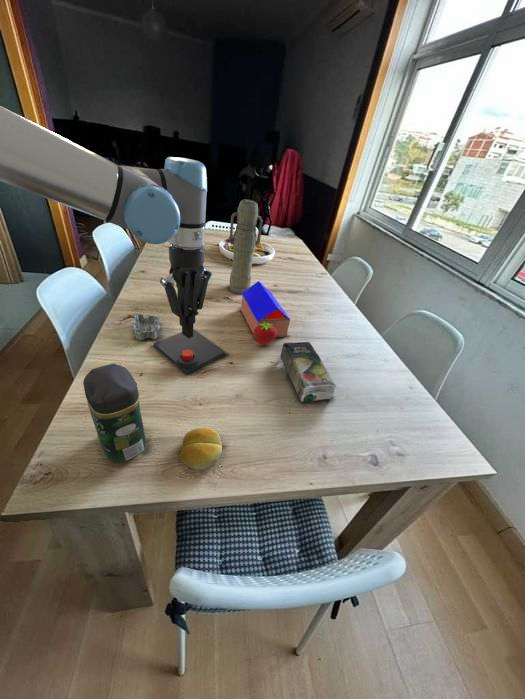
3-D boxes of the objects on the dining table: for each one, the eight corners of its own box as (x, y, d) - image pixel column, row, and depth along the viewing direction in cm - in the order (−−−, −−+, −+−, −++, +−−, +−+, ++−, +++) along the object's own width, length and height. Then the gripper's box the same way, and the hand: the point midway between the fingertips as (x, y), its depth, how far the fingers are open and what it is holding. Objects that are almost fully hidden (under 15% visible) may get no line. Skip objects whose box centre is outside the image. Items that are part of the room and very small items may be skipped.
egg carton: (135, 322, 95) (134, 311, 93) (160, 321, 98) (159, 311, 95) (133, 341, 87) (132, 329, 85) (160, 340, 90) (159, 328, 87)
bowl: (284, 261, 164) (286, 247, 159) (245, 270, 144) (247, 254, 140) (247, 244, 178) (248, 230, 174) (207, 250, 159) (208, 235, 154)
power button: (179, 357, 81) (179, 352, 80) (188, 353, 83) (188, 348, 82) (186, 362, 79) (186, 357, 78) (195, 358, 81) (195, 353, 80)
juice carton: (334, 401, 79) (341, 385, 76) (301, 405, 76) (306, 388, 73) (307, 356, 94) (311, 340, 91) (278, 358, 92) (281, 342, 88)
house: (254, 338, 98) (259, 308, 91) (239, 309, 113) (243, 280, 106) (287, 336, 102) (294, 307, 95) (268, 308, 117) (273, 280, 110)
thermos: (255, 294, 125) (268, 205, 104) (227, 293, 121) (235, 201, 101) (250, 285, 131) (261, 200, 111) (224, 284, 128) (231, 196, 107)
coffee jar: (95, 435, 61) (75, 368, 50) (134, 419, 65) (123, 354, 54) (110, 471, 55) (90, 404, 44) (151, 452, 60) (143, 386, 49)
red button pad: (152, 346, 87) (151, 338, 85) (192, 331, 96) (192, 323, 94) (185, 375, 79) (185, 366, 77) (225, 355, 89) (225, 347, 87)
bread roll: (178, 471, 57) (177, 459, 55) (185, 433, 64) (184, 421, 62) (220, 472, 58) (221, 460, 56) (222, 434, 66) (223, 423, 63)
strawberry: (276, 351, 94) (282, 325, 88) (253, 351, 92) (257, 325, 86) (271, 340, 99) (276, 314, 93) (249, 340, 96) (253, 314, 91)
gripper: (171, 254, 56) (174, 351, 70) (221, 245, 65) (216, 333, 79) (149, 242, 60) (157, 336, 74) (200, 235, 69) (198, 321, 82)
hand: (187, 335), depth 76 cm, fingers closed
